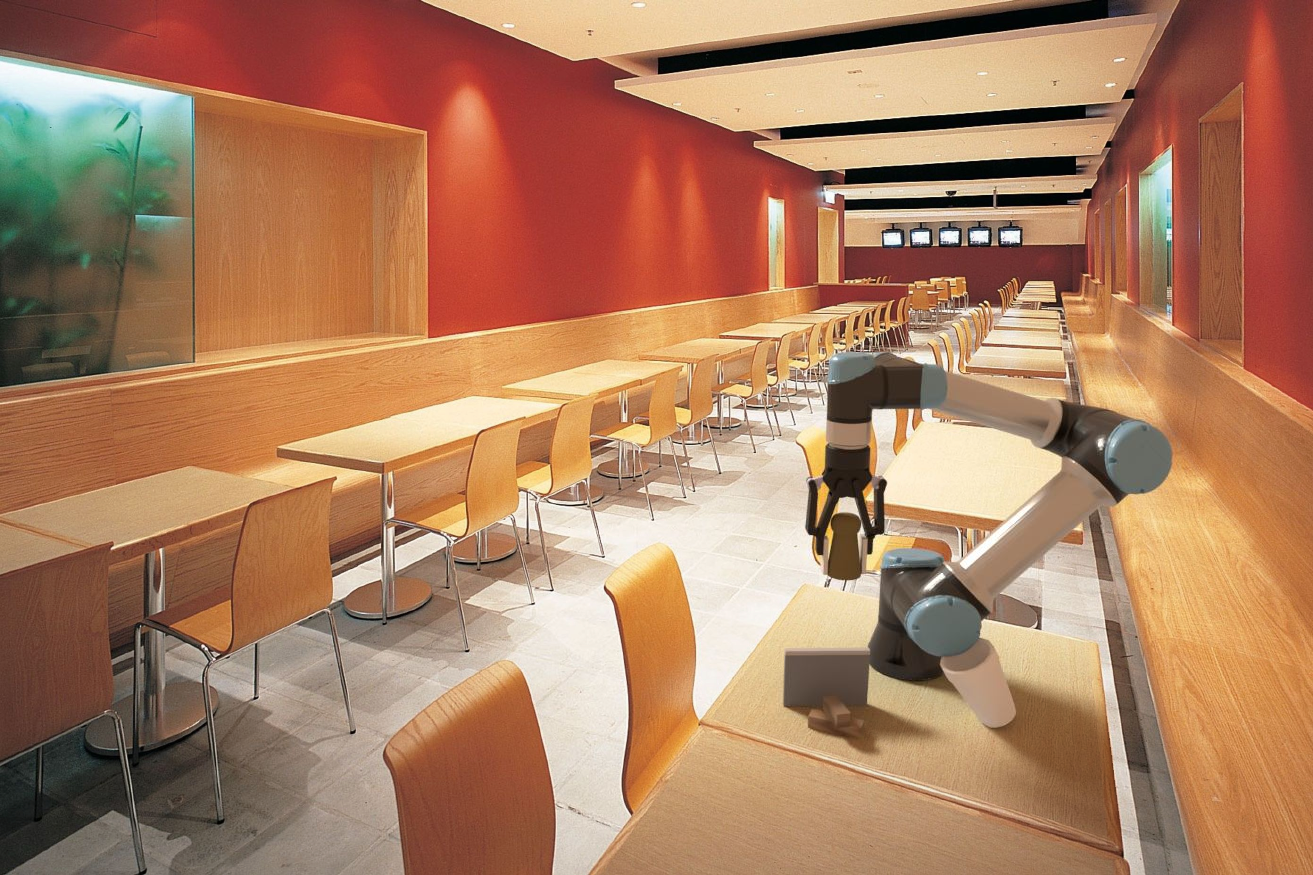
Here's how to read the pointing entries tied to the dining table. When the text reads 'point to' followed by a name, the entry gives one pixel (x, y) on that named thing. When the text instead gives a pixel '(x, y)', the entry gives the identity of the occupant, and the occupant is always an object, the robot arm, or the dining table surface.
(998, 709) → the foam cup
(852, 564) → the cork
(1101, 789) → the dining table surface
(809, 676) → the board
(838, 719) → the offcut top
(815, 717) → the offcut low
